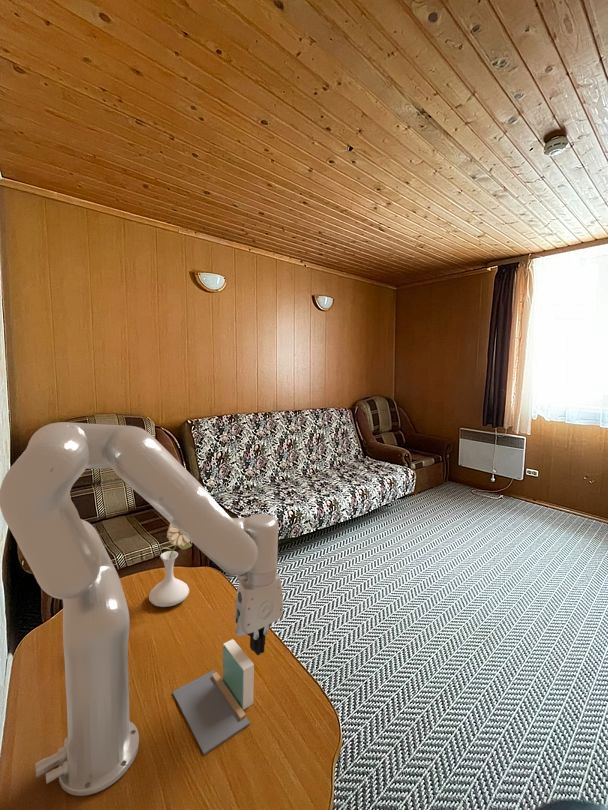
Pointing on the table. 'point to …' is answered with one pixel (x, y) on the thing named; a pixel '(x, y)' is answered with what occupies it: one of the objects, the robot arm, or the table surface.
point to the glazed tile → (238, 673)
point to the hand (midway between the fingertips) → (257, 650)
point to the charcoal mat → (210, 710)
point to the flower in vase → (171, 574)
